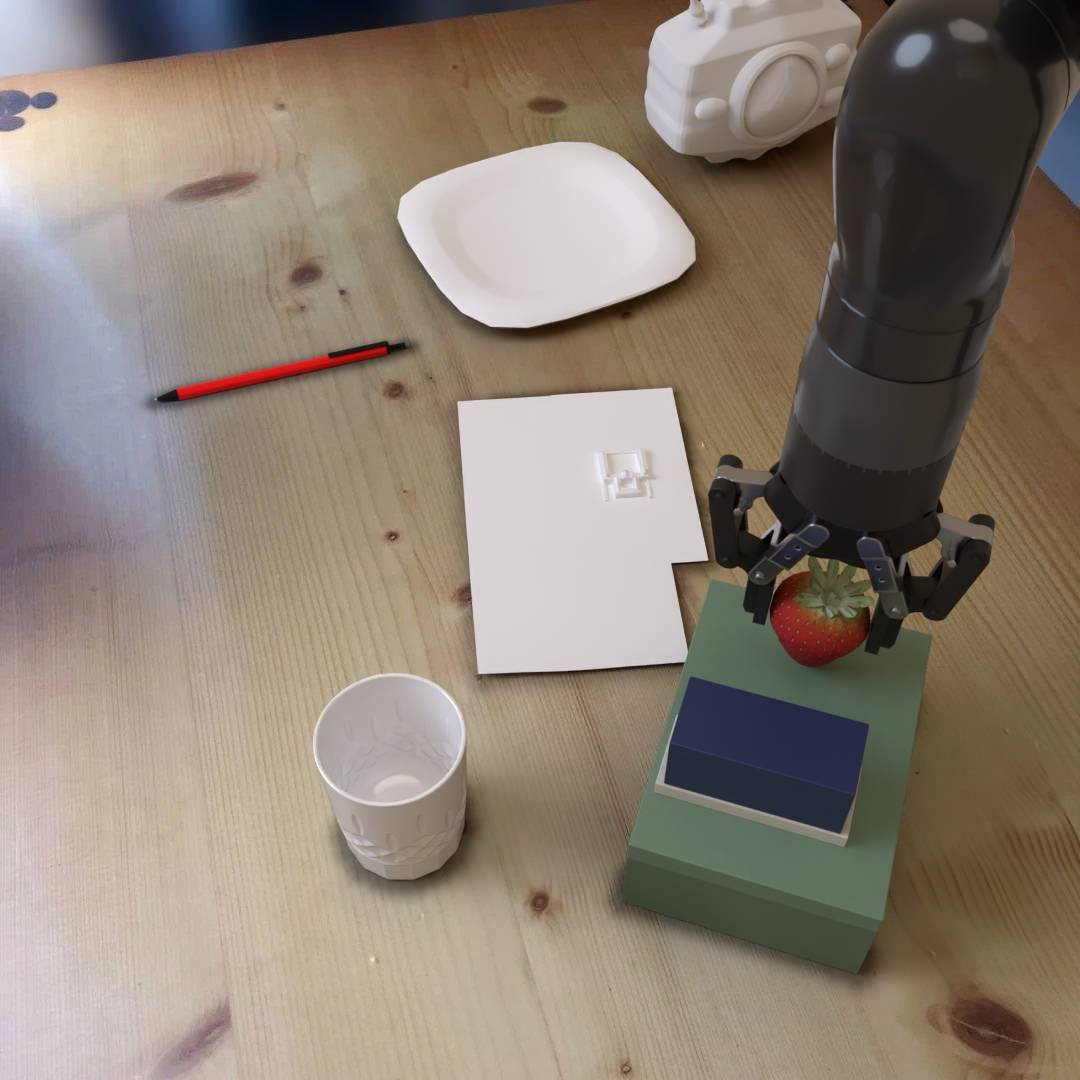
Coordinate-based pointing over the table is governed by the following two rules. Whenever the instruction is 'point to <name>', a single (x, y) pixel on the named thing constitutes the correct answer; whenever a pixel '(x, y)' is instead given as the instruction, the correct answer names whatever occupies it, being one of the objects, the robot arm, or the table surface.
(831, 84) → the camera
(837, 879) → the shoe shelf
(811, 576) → the fruit
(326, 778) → the white cup
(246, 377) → the pen
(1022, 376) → the table surface
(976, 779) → the table surface
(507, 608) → the paper
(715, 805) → the navy block
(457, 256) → the plate
